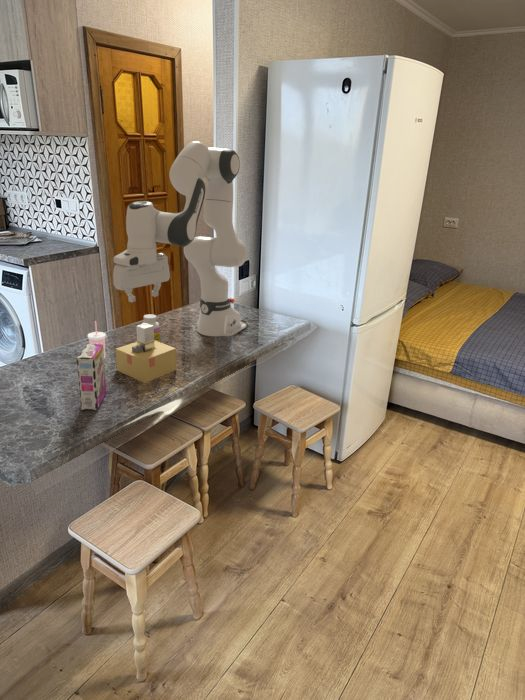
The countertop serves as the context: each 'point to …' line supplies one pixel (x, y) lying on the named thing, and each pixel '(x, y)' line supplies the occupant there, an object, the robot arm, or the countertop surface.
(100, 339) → the beverage cup
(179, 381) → the countertop surface
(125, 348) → the housing
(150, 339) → the column
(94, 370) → the candy bar box
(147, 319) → the supplement bottle
